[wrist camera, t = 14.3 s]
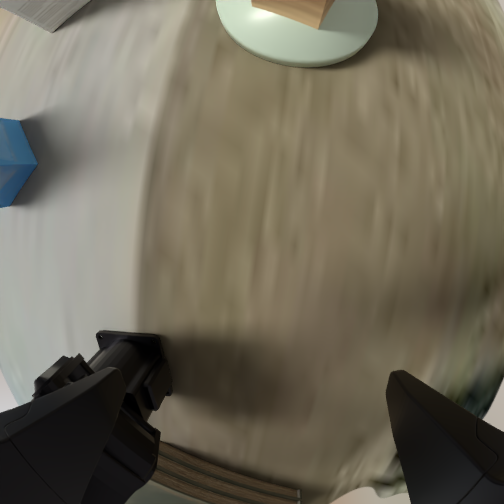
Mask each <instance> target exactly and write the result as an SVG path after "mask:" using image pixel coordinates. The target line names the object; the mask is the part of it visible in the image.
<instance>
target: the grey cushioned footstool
mask: <svg viewBox="0 0 504 504" xmlns="http://www.w3.org/2000/svg"><path fill="white" fill-rule="evenodd" d="M334 1H335V0H251V4H252V7H256V8H259V9H263V10H266V11H269V12H272V13H275V14H278V15H281V16H284V17H287V18H289V19H292V20H295V21H297V22H300V23H303V24H305V25H308V26H310V27H312V28H315V29H317V30H318V29H319V27H320V25H321V23H322V22H323V20H324V18H325V16H326V15H327V13H328V11H329V10H330V8H331V6H332V4H333V3H334Z"/></svg>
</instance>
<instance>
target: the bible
mask: <svg viewBox="0 0 504 504" xmlns="http://www.w3.org/2000/svg"><path fill="white" fill-rule="evenodd" d="M125 504H302V501H301V490H300V489H299V490H295V489H291V488H287V487H283V486H279V485H275V484H271V483H268V482H264V481H261V480H257V479H254V478H251V477H248V476H245V475H241V474H238V473H236V472H233V471H230V470H227V469H224V468H222V467H219V466H216V465H214V464H211V463H209V462H206V461H204V460H201V459H199V458H196V457H194V456H192V455H189V454H187V453H185V452H183V451H181V450H178V449H176V448H174V447H172V446H170V445H168V444H166V443H164V442H162V441H160V444H159V453H158V463H157V468H156V470H155V472H154V474H153V476H152V477H151V479H150V480H149V481H148V482H147V483H146V484H145V485H144V486H143V487H142V488H140V489H139V490H137V491H136V492H135V493H134V494H133V495H132V496H131V497H130V498H129V499H128V500H127V502H126V503H125Z"/></svg>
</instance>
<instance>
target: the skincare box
mask: <svg viewBox="0 0 504 504" xmlns="http://www.w3.org/2000/svg"><path fill="white" fill-rule="evenodd" d="M90 1H91V0H0V8H2V9H4V10H7V11H9V12H11V13H13V14H15V15H17V16H19V17H21V18H23V19H25V20H27V21H29V22H31V23H33V24H35V25H37V26H39V27H41V28H43V29H45V30H46V31H48V32H50V33H52V32H54V31H55V30H56V29H57V28H58V27H59V26H60V25H61V24H62V23H64V22H65V21H66V20H67V19H68V18H69V17H71V16H72V15H73V14H74V13H75V12H77V11H78V10H79V9H80V8H82V7H83V6H84V5H86V4H87V3H88V2H90Z"/></svg>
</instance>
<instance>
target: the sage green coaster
mask: <svg viewBox="0 0 504 504" xmlns="http://www.w3.org/2000/svg"><path fill="white" fill-rule="evenodd" d="M216 6H217V10H218V13H219V16H220V19H221V22H222V25H223V26H224V28H225V30H226V32H227V33H228V35H229V36H230V37H231V38H232V39H233V40H234V41H235V42H236V43H237V44H238V45H239V46H240V47H242V48H243V49H244V50H246V51H248V52H249V53H251V54H253V55H255V56H257V57H259V58H261V59H264V60H267V61H270V62H273V63H276V64H281V65H285V66H292V67H305V68H308V67H321V66H328V65H332V64H336V63H339V62H341V61H344V60H346V59H348V58H350V57H352V56H353V55H355V54H356V53H357V52H359V51H360V50H361V49H362V48H363V47H364V45H365V44H366V43H367V41H368V40H369V38H370V37H371V35H372V34H373V32H374V30H375V28H376V25H377V21H378V8H377V4H376V1H375V0H335V1H334V3H333V4H332V6H331V8H330V10H329V11H328V13H327V15H326V16H325V18H324V20H323V22H322V23H321V25H320V27H319V29H318V30H317V29H315V28H312V27H310V26H308V25H305V24H303V23H300V22H297V21H295V20H292V19H289V18H287V17H284V16H281V15H278V14H275V13H272V12H269V11H266V10H263V9H259V8H256V7H252V4H251V0H216Z"/></svg>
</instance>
